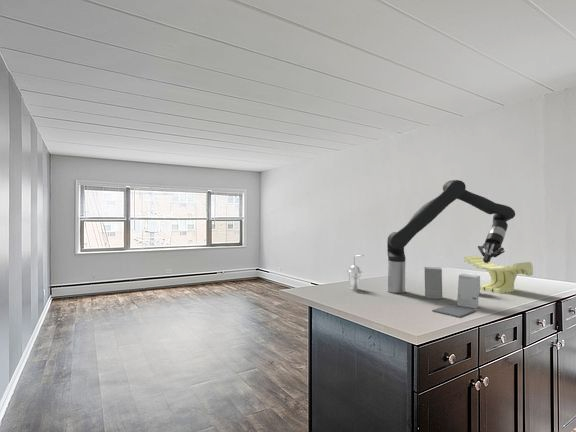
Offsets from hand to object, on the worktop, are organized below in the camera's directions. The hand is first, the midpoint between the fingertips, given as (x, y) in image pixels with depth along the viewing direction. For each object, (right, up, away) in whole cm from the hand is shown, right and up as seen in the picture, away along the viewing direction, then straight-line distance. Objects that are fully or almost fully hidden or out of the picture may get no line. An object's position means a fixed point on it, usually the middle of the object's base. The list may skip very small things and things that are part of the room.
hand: (485, 261), depth 175 cm
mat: (-26, -19, -21) cm, 39 cm away
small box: (+1, -20, +15) cm, 25 cm away
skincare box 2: (-15, -20, -12) cm, 28 cm away
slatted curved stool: (+20, -20, +25) cm, 38 cm away
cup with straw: (-62, -19, +24) cm, 69 cm away
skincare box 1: (-25, -19, +4) cm, 32 cm away
